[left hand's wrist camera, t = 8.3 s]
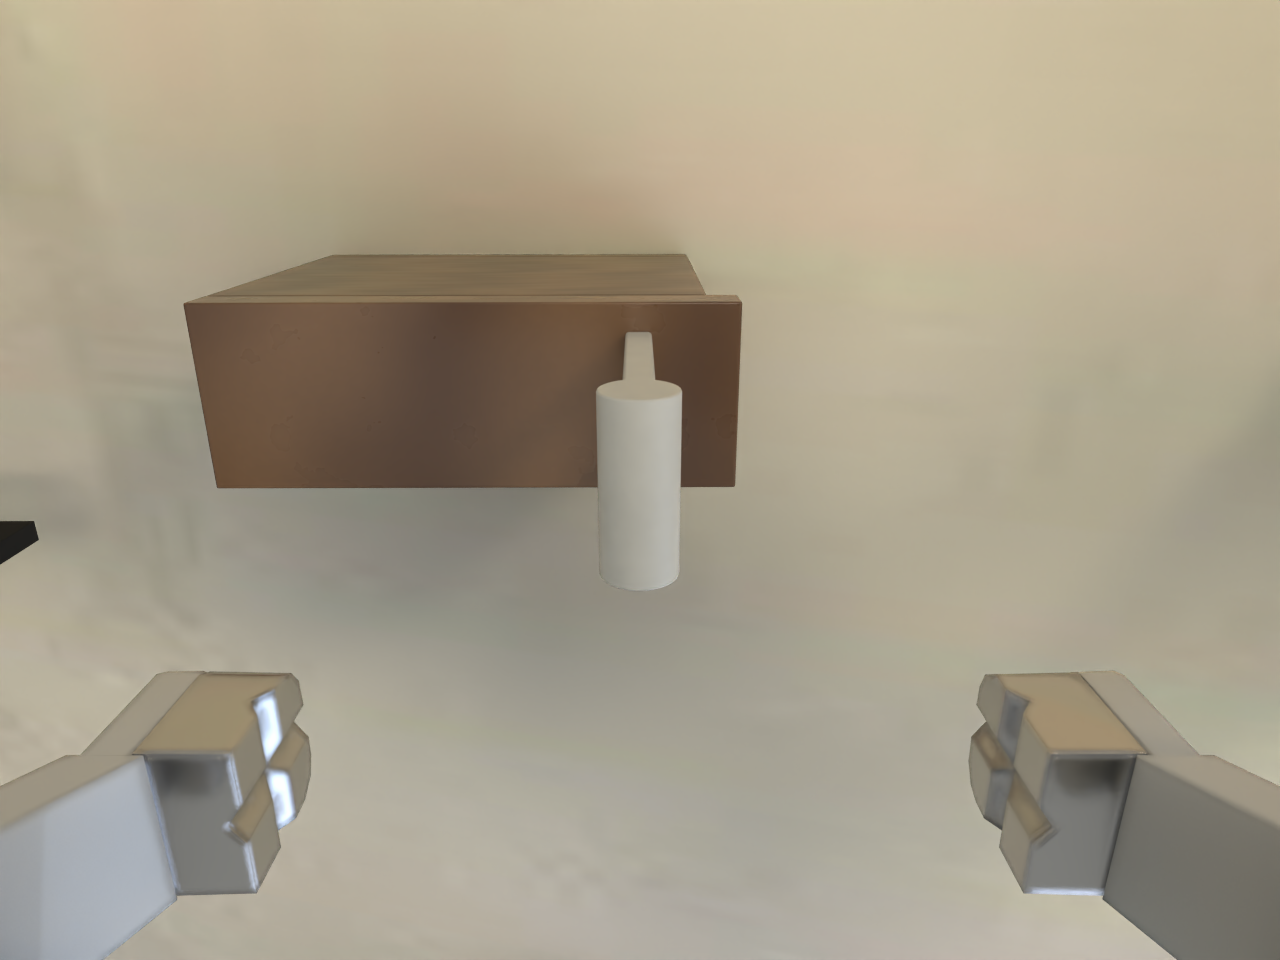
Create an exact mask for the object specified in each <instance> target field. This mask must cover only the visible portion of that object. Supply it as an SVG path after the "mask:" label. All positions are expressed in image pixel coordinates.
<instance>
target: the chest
mask: <svg viewBox="0 0 1280 960" xmlns="http://www.w3.org/2000/svg"><path fill="white" fill-rule="evenodd" d="M578 295H706V294H705V292H704V290H703V288H702V286H701V284H700V282H699V280H698V278H697V276H696V274H695V272H694V269H693V267H692V265H691V263H690V261H689V259H688V257H687V256H686V255H685V254H613V255H332V256H329V257H325V258H322V259H319V260H316V261H313V262H310V263H307V264H303V265H300V266H297V267H294V268H291V269H288V270H285V271H282V272H279V273H276V274H273V275H270V276H267V277H264V278H260V279H257V280H254V281H251V282H248V283H245V284H242V285H239V286H236V287H233V288H230V289H227V290H224V291H221V292H217V293H214V294H211V295H208V296H578Z"/></svg>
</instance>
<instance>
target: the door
mask: <svg viewBox="0 0 1280 960" xmlns="http://www.w3.org/2000/svg"><path fill="white" fill-rule="evenodd" d="M184 310H185V315H186V321H187V326H188V331H189V337H190V342H191V348H192V353H193V359H194V364H195V370H196V375H197V381H198V386H199V392H200V397H201V403H202V408H203V413H204V419H205V424H206V430H207V435H208V441H209V446H210V452H211V457H212V463H213V468H214V474H215V479H216V485H217V488H488V487H598V519H599V569H600V576H601V578H602V579H603V580H604V581H605V582H606V583H607V584H609V585H611V586H613V587H616V588H619V589H624V590H630V591H648V590H655V589H659V588H663V587H665V586H668V585H670V584H671V583H673V582H674V581H675V580H676V579H677V577H678V575H679V558H680V493H681V487H734V486H735V474H736V448H737V423H738V397H739V371H740V345H741V319H742V302H741V301H740V299H739V298H738V296H737V295H578V296H204V297H201V298H198V299H195V300H192V301H189V302H186V303H184Z"/></svg>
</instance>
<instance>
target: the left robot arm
mask: <svg viewBox="0 0 1280 960" xmlns="http://www.w3.org/2000/svg"><path fill="white" fill-rule="evenodd" d="M302 706H303V700H302V695H301V690H300V685H299V681H298V680H297V679H296V678H295V677H294V676H293V674H292V673H259V672H205V671H168V672H164V673H160V674H157V675H156V676H155V677H154V678H153V679H152V680H151V681H150V682H149V683H148V684H147V685H146V686H145V687H144V688H143V689H142V690H141V691H140V692H139V694H138V695H137V696H136V697H135V698H134V699H133V700H132V701H131V702H130V703H129V704H128V705H127V706H126V707H125V708H124V709H123V710H122V712H121V713H120V714H119V715H118V716H117V717H116V718H115V719H114V720H113V721H112V722H111V723H110V724H109V725H108V726H107V727H106V728H105V730H104V731H103V732H102V733H101V734H100V735H99V736H98V737H97V738H96V739H95V740H94V741H93V742H92V743H91V744H90V745H89V746H88V748H87V749H86V750H85V751H84V752H83V753H82V754H81V755H66V756H64V757H61V758H59V759H57V760H55V761H53V762H51V763H49V764H47V765H44V766H42V767H40V768H38V769H36V770H34V771H32V772H30V773H27V774H25V775H23V776H21V777H19V778H17V779H15V780H13V781H10V782H8V783H6V784H4V785H2V786H0V960H103V959H105V958H106V957H107V956H108V955H110V954H111V953H112V952H113V951H115V950H116V949H117V948H118V947H119V946H121V945H122V944H123V943H124V942H126V941H127V940H128V939H129V938H131V937H132V936H133V935H134V934H135V933H137V932H138V931H139V930H140V929H142V928H143V927H144V926H145V925H147V924H148V923H149V922H150V921H152V920H153V919H154V918H155V917H156V916H158V915H159V914H160V913H161V912H163V911H164V910H165V909H166V908H168V907H169V906H170V905H171V904H172V903H174V902H175V901H176V900H177V896H178V895H212V894H247V893H257V891H258V890H259V888H260V886H261V884H262V882H263V880H264V878H265V876H266V874H267V872H268V871H269V869H270V867H271V865H272V863H273V861H274V859H275V857H276V855H277V854H278V852H279V850H280V848H281V845H280V839H279V833H278V830H279V829H281V828H282V827H284V826H285V825H287V824H288V823H290V822H291V821H292V820H294V819H295V818H296V817H297V815H298V813H299V811H300V809H301V807H302V805H303V803H304V801H305V798H306V793H307V789H308V785H309V780H310V776H311V751H310V744H309V737H308V736H307V735H306V734H305V733H304V732H303V731H302V730H301V728H300V727H299V726H298V725H297V724H296V723H295V722H294V720H295V718H296V716H297V715H298V713H299V711H300V710H301V708H302ZM977 706H978V708H979V710H980V711H981V713H982V715H983V716H984V718H985V720H986V722H985V723H984V724H983V725H982V726H981V727H980V728H979V729H978V731H977V732H976V733H975V734H974V735H973V736H972V737H971V745H970V753H969V771H970V782H971V787H972V790H973V794H974V797H975V800H976V803H977V805H978V807H979V809H980V811H981V813H982V815H983V817H984V818H985V819H986V820H988V821H989V822H990V823H992V824H993V825H995V826H996V827H998V828H999V829H1001V830H1002V833H1001V839H1000V845H999V848H1000V850H1001V852H1002V854H1003V855H1004V857H1005V859H1006V861H1007V863H1008V865H1009V867H1010V869H1011V871H1012V872H1013V874H1014V876H1015V878H1016V880H1017V882H1018V884H1019V886H1020V887H1021V889H1022V891H1023V893H1031V894H1066V895H1102V896H1103V900H1104V901H1105V902H1107V903H1108V904H1109V905H1110V906H1112V907H1113V908H1114V909H1115V910H1117V911H1118V912H1119V913H1120V914H1121V915H1123V916H1124V917H1125V918H1126V919H1128V920H1129V921H1130V922H1131V923H1133V924H1134V925H1135V926H1136V927H1137V928H1139V929H1140V930H1141V931H1142V932H1144V933H1145V934H1146V935H1147V936H1149V937H1150V938H1151V939H1152V940H1153V941H1155V942H1156V943H1157V944H1158V945H1160V946H1161V947H1162V948H1163V949H1165V950H1166V951H1167V952H1168V953H1169V954H1171V955H1172V956H1173V957H1174V958H1176V959H1177V960H1280V786H1278V785H1276V784H1274V783H1272V782H1269V781H1267V780H1265V779H1263V778H1261V777H1259V776H1257V775H1255V774H1252V773H1250V772H1248V771H1246V770H1244V769H1242V768H1240V767H1238V766H1236V765H1233V764H1231V763H1229V762H1227V761H1225V760H1223V759H1221V758H1219V757H1216V756H1214V755H1199V754H1198V753H1197V752H1196V751H1195V750H1194V749H1193V747H1192V746H1191V745H1190V744H1189V743H1188V742H1187V741H1186V740H1185V739H1184V738H1183V737H1182V736H1181V735H1180V734H1179V733H1178V732H1177V731H1176V729H1175V728H1174V727H1173V726H1172V725H1171V724H1170V723H1169V722H1168V721H1167V720H1166V719H1165V718H1164V717H1163V716H1162V715H1161V714H1160V713H1159V711H1158V710H1157V709H1156V708H1155V707H1154V706H1153V705H1152V704H1151V703H1150V702H1149V701H1148V700H1147V699H1146V698H1145V697H1144V696H1143V694H1142V693H1141V692H1140V691H1139V690H1138V689H1137V688H1136V687H1135V686H1134V685H1133V684H1132V683H1131V682H1130V681H1129V680H1128V679H1127V678H1126V676H1125V675H1122V674H1120V673H1118V672H1115V671H1089V672H1071V673H1031V674H989V675H985V676H984V678H983V681H982V683H981V685H980V688H979V694H978V699H977Z"/></svg>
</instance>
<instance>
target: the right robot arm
mask: <svg viewBox="0 0 1280 960" xmlns="http://www.w3.org/2000/svg"><path fill="white" fill-rule="evenodd" d="M38 540H39V539H38V535H37V531H36V527H35V524H34V521H0V564H2V563H3V562H5V561H6V560H8V559H10V558H11V557H13V556H14V555H16V554H17V553H19V552H20V551H22V550H24V549H25V548H27V547H28V546H30V545H31V544H33V543H35V542H36V541H38Z"/></svg>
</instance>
